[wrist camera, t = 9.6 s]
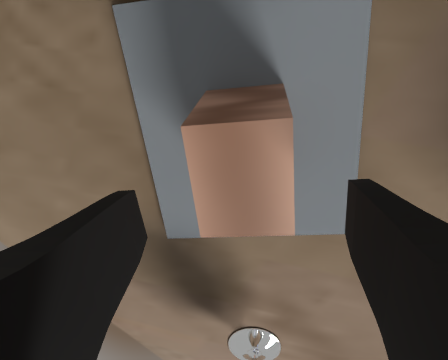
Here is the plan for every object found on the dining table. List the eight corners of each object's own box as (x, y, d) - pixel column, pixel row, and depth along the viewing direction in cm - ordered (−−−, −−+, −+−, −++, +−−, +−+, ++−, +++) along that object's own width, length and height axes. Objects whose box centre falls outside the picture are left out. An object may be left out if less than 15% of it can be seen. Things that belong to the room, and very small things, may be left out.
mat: (369, -30, 15) (374, -32, 14) (349, 226, 21) (353, 233, 20) (118, 5, 16) (112, 5, 16) (170, 231, 23) (167, 238, 22)
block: (283, 83, 16) (292, 117, 11) (285, 171, 19) (295, 235, 13) (206, 90, 17) (180, 126, 12) (217, 175, 19) (200, 237, 14)
